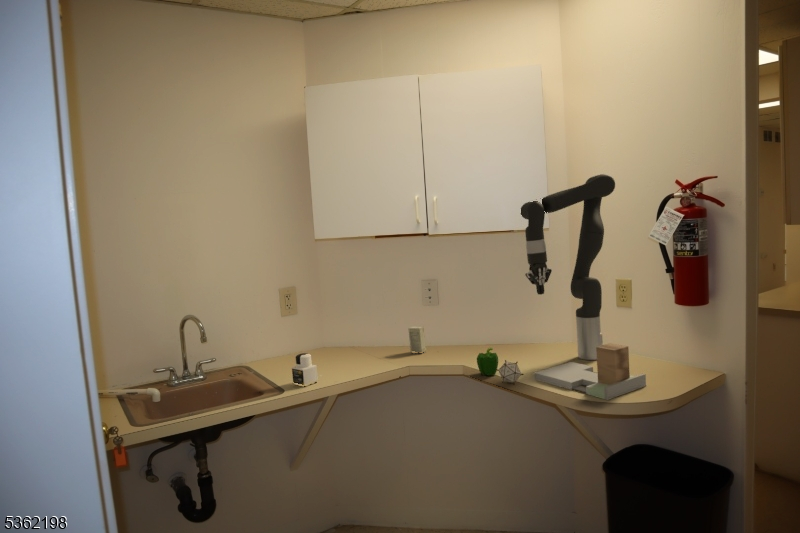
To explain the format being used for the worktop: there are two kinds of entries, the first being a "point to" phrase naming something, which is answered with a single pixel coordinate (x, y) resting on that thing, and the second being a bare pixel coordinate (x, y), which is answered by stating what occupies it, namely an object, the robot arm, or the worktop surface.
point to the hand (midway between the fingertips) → (540, 294)
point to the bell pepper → (487, 362)
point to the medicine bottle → (304, 370)
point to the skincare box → (417, 339)
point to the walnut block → (612, 363)
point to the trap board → (588, 380)
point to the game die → (509, 372)
